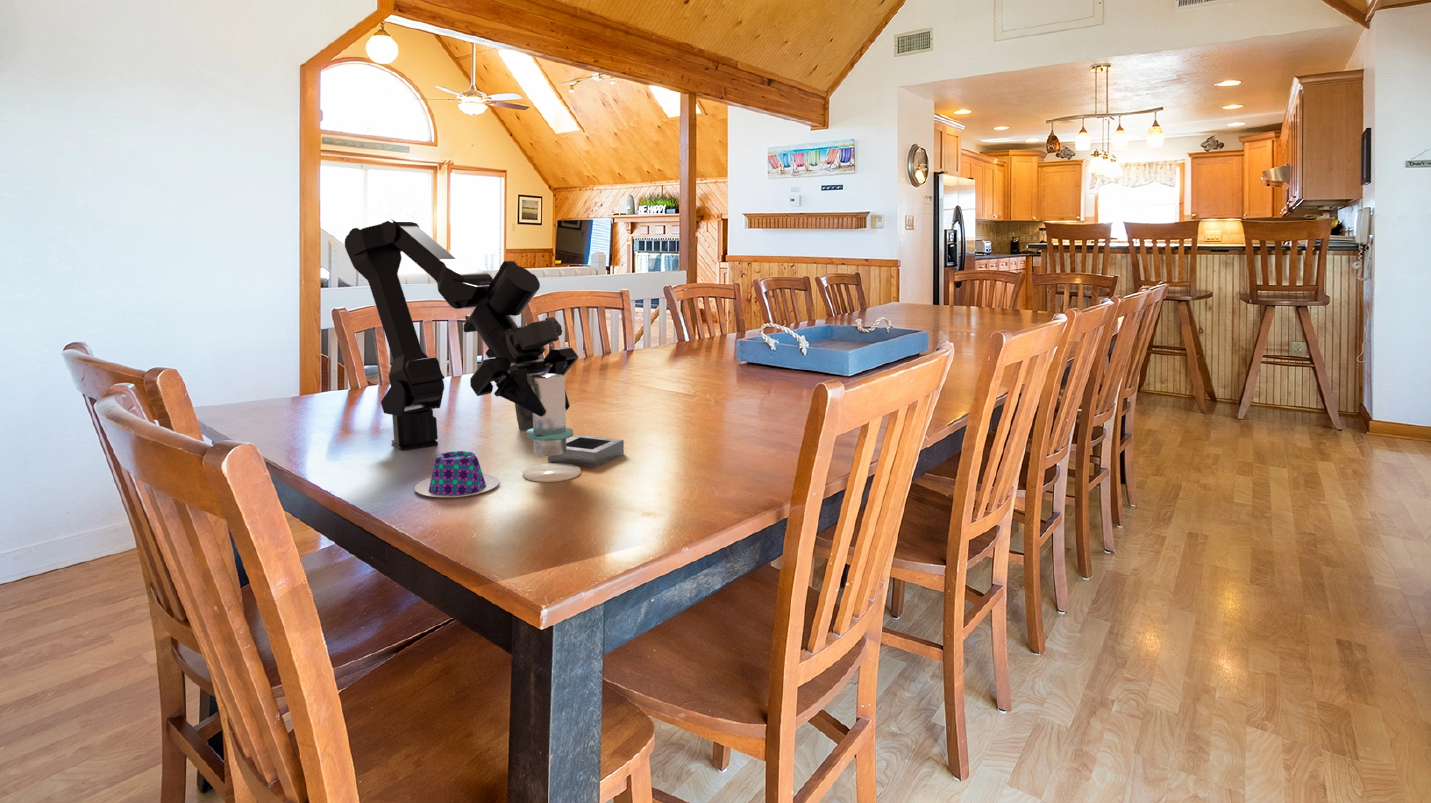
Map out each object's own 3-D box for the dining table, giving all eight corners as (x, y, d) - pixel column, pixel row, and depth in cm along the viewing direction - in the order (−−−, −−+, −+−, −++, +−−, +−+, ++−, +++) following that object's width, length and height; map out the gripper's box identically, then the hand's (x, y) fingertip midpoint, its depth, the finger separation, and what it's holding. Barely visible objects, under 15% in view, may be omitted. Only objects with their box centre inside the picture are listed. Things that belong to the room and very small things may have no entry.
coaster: (536, 485, 118) (536, 482, 118) (513, 471, 125) (513, 469, 125) (590, 475, 123) (590, 473, 123) (565, 462, 130) (565, 460, 130)
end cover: (529, 459, 119) (526, 381, 117) (524, 447, 126) (522, 373, 123) (576, 455, 121) (575, 379, 119) (570, 444, 128) (568, 371, 126)
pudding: (510, 478, 123) (508, 445, 122) (484, 503, 111) (482, 467, 110) (434, 476, 123) (432, 444, 122) (400, 501, 112) (397, 465, 110)
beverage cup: (544, 433, 150) (540, 328, 146) (506, 432, 150) (501, 328, 146) (553, 424, 157) (549, 324, 153) (516, 423, 158) (512, 324, 154)
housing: (595, 467, 128) (595, 452, 127) (548, 461, 131) (547, 446, 131) (623, 453, 136) (623, 439, 135) (578, 448, 139) (577, 434, 139)
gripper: (479, 304, 113) (538, 388, 110) (568, 297, 129) (622, 370, 125) (445, 354, 119) (500, 435, 115) (534, 341, 134) (585, 413, 131)
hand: (555, 411), depth 122 cm, fingers closed on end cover, 5 cm apart
